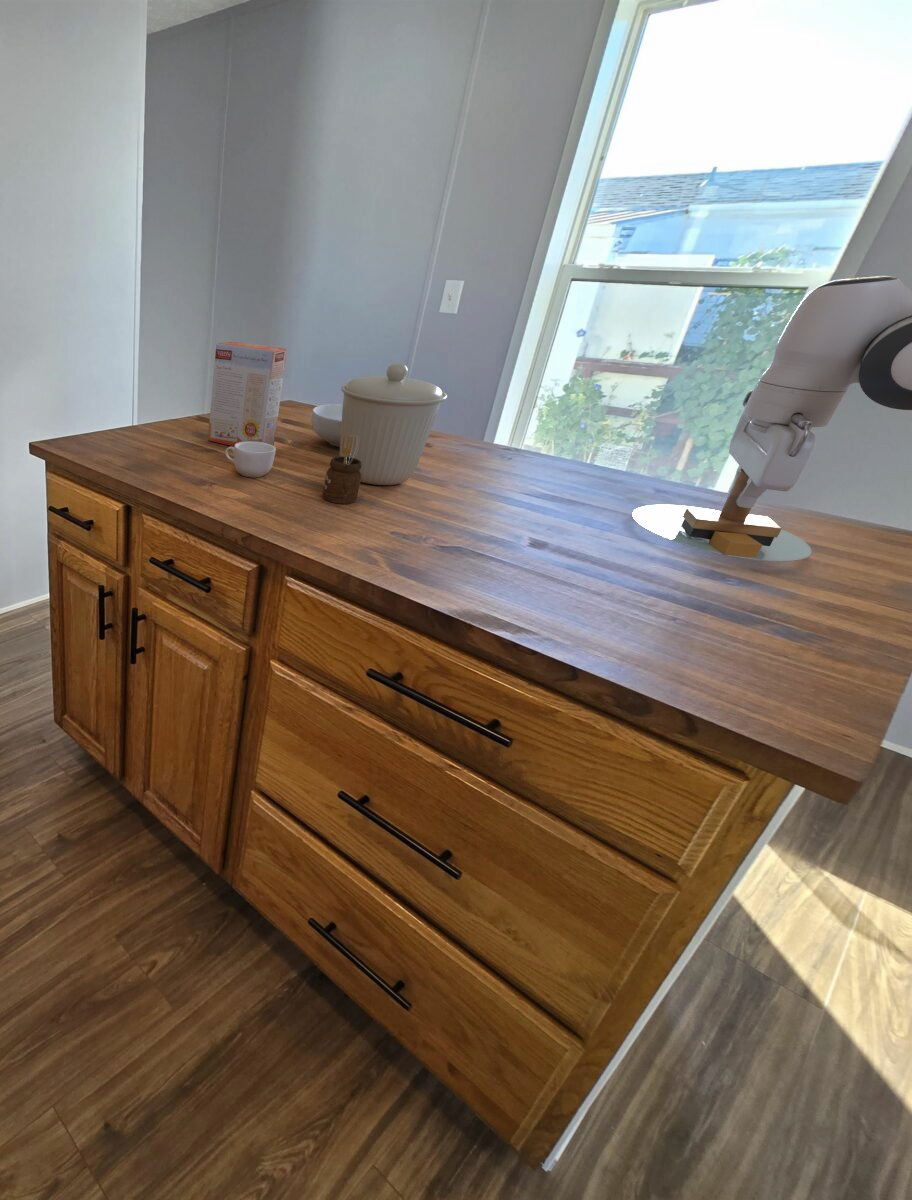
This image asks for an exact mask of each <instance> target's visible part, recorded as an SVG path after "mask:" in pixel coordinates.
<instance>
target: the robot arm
mask: <svg viewBox="0 0 912 1200" xmlns="http://www.w3.org/2000/svg"><path fill="white" fill-rule="evenodd" d="M853 384H859V386H860V388H861V390H862V392H863V393H864V394H865V395H866V396H867V398H868V399H870V400H871V401H872V402H874V403H875V404H878V405H880V406H883V407H886V408H889V409H892V410H893V409H894V410H902V411H912V290H911V288H909V287H907V285H905V284H904V283H903V282H902V281H901V279H900V278H899V277H895V276H894V275H893V276H892V275H876V276H873V275H872V276H859V277H858V276H857V277H848V278H842V279H834V280H830V281H828V282H825V283H823V284H821V285H818V286H816V287H815V288H814V289H812V290H810V291H809V292H808V293H807V294H806V295H805V296H804V298H803V299H802V300H801V301H800V303H799V305H798V306H797V307H796V309H795V310H794V312H793V314H792V315H791V317H790V318H789V320H788V322H787V324H786V325H785V327H784V329H783V331H782V332H781V335H780V337H779V339H778V341H777V343H776V345H775V347H774V355H773V359H772V361H771V363H770V365H769V366H768V368H767V369H766V370H765V371H764V372H763V373H761V376H760V377H759V379H758V381H757V383H756V385H755V387H754V389H751V390H749V391H748V392H747V393H746V394H745V397H744V398H743V401H742V406H743V408H744V409H743V410H742V413H741V415H740V418H739V419H738V422H737V425H736V427H735V429H734V431H733V434H732V437H731V440H730V441H729V442H730V443H729V447H728V453H729V455H730V456H731V458H733V460H734V461H735V462H736V464H738V467H737V468H736V472H735V476H734V480H733V484H732V486H731V488H730V490H729V494H730V491H731V489H732V487H733V485H734V483H735V481H736V478H737V476H738V474H739V472H740V470H744V472H745V473H746V474H747V475H748V476H749V479H748V481H747V483H748V484H747V485H746V487H745V489H744V490H743V492H740V493H739V495H738V498H737V499H736V503H737V505H738V506H739V507H744V508H751V509H752V508H753V507H754V506H755V504H756V502H757V501H758V499H759V497H761V496H762V495H763V494H764V493H765V492H766V491H767V490H771V491H778V492H789V491H790V490H791V489H792V488H794V486H795V485H796V484H797V482H798V480H799V478H800V476H801V475H802V473H803V470H804V469H805V467H806V465H807V463H808V461H809V458H810V457H811V455H812V452H813V449H814V447H815V444H816V439H817V438H816V435H815V434H814V433H813V432H812V431H811V430H812V429H813V428H823V427H826V426H827V425H829V423H830V421H831V419H832V417H833V416H834V414H835V412H836V411H837V409H838V407H839V405H840V403H841V401H842V400H843V398H844V396H845V394H846V392H847V391H848V389H849V388H850V386H852V385H853Z"/></svg>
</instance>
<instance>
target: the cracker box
mask: <svg viewBox="0 0 912 1200" xmlns="http://www.w3.org/2000/svg"><path fill="white" fill-rule="evenodd" d="M287 352H288V348H286V347H276V346H270V345H265V344H264V345H262V344H255V343H247V342H239V341H224V342H219V343H216V345H215V353H214V356H215V357H214V367H213V377H212V388H211V400H210V411H209V422H208V432H207V441H209V442H212V443H216V444H221V445H226V446H229V447H235V444H236V443H239V442H246V441H253V442H262V443H267V444H270V445H273V446H274V447H275V439H276V432H277V426H278V418H279V410H280V404H281V397H282V389H283V382H284V375H285V367H286V359H287Z"/></svg>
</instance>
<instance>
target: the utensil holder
mask: <svg viewBox="0 0 912 1200" xmlns="http://www.w3.org/2000/svg"><path fill="white" fill-rule="evenodd" d="M350 436H352V435H350ZM355 436H356V435H355ZM345 438H346V436H344V438H343V445H342V451H341V452H342V453H343V454H344V457H342V456H341V457H340V456H334V457H332V458H331V460H330V462H329V467H328V469H327V471H326V473H325V476H324V477H325V478H324V483H323V488H322V489H323V490H322V497H323V499H324V500H325V501H327V502H330V503H333V504H339V505H349V504H350V505H351V504H353V503H355V502H356V501H357V498H358V495H359V491H360V485H361V482H360V481H361V473H360V471H359V470H360V469H361V466H362V463H361V461H360V460H358V459H355V458H352V457H347V455H348V454H350V453H351V451H352V447H353V445H352V443H353V442H354V441H353V437H351V443H350V448H348V444H349V439H350V437H349V436H348V438H347V439H346V440H347V444H346V448H344V447H345V446H344V445H345V443H346V442H345ZM356 438H358V436H357V437H356ZM359 442H360V440H359ZM356 445H358V444H357V443H356ZM358 448H359V447H358ZM355 449H356V448H355ZM356 450H357V449H356ZM354 453H356V452H354ZM356 454H357V453H356ZM350 455H351V454H350ZM354 455H355V454H354ZM355 456H356V455H355ZM353 457H354V456H353Z"/></svg>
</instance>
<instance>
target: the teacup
mask: <svg viewBox="0 0 912 1200" xmlns="http://www.w3.org/2000/svg"><path fill="white" fill-rule="evenodd" d="M229 450H231V451H232V453H233V458H232V457H230V456H229V454H228V453H229ZM276 451H277V448H276V446H275V445H274V446H273V445H270V444H267V443H262V442H253V441H246V442H239V443H236V444H235V447H233V446H229V447H226V448H225V451H224V455H225V457H226V459H227V460H228V461H230V462H231V463H233V465H234V468H235V470H236V471H237V473H239V474H240V475H241V476H243V477H246V478H253V479H255V478H262V477H263V476H265V475H267V474H268V473H269V472H270V471H271V469H272V467H273V465H274V461H275V457H276Z"/></svg>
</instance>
